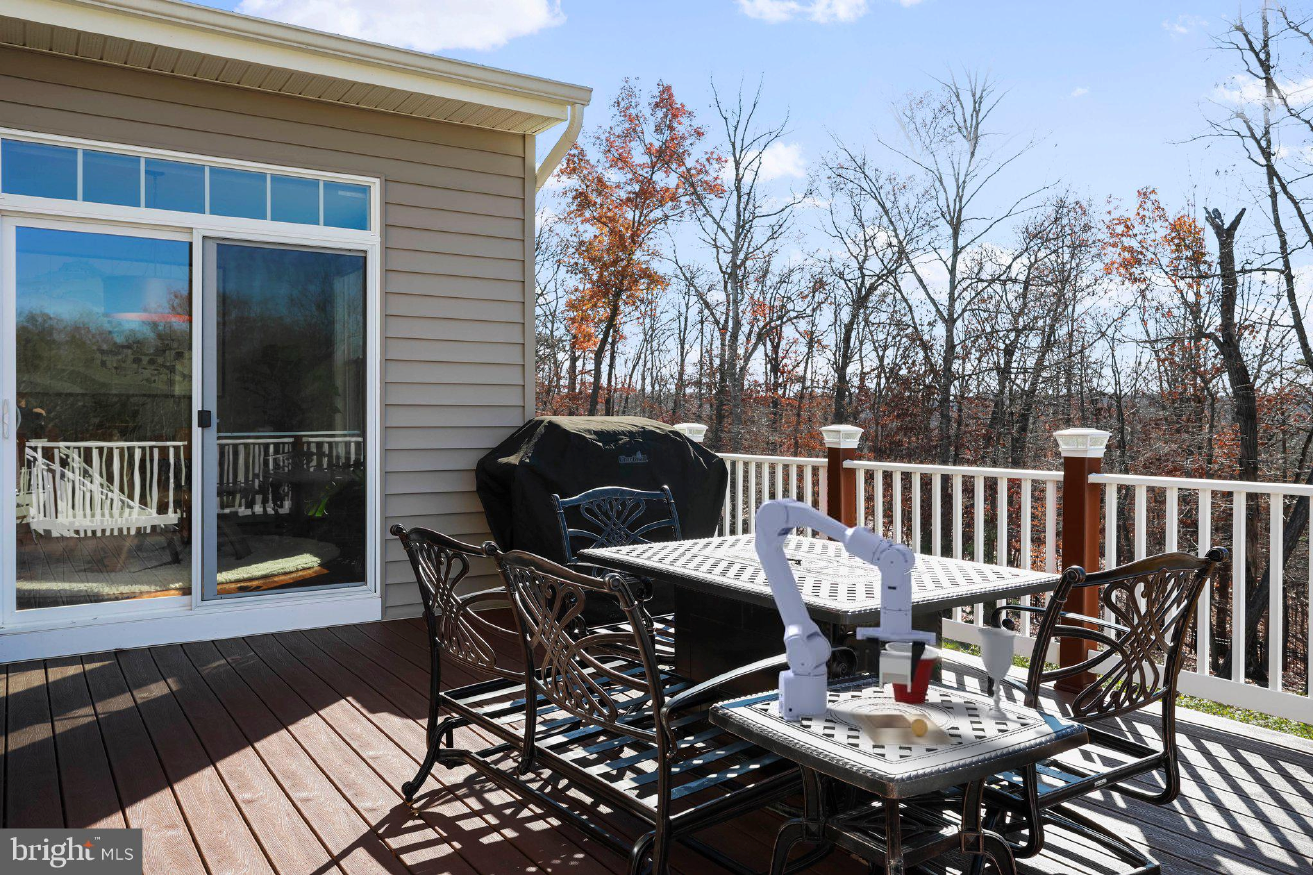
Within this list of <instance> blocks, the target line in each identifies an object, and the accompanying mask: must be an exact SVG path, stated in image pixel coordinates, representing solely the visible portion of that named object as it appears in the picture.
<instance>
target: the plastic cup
mask: <svg viewBox="0 0 1313 875" xmlns="http://www.w3.org/2000/svg"><path fill="white" fill-rule="evenodd" d="M885 649H886V651H893V652H905V653H911V665H912V643H910V642H890V643H886V644H885ZM938 657H939V652H938V651H936V650H934V649H932V648H931V647H926V646H925V651H924V653H923V655H922V657H921V659H920V661H919V664H918V666H917V669H916V673H915V678H914V682H911V690H910V692H908V684H897V683H891V685H892V686H891V687H892V689H893V695H894V701H895V703H904V704H908V705H919V704H921V705H922V704H924V703H925V702H926V697H927V692H928V690H929V685H930V680H931V675H932V670H933V668H934V664H935V661H936V660H937V659H938Z"/></svg>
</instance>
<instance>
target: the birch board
mask: <svg viewBox="0 0 1313 875" xmlns="http://www.w3.org/2000/svg"><path fill="white" fill-rule="evenodd" d="M849 715H850V717H851V718H852V719H853V720H854V721H855V722H856V724H857V725H858V726H859V727H860V728H861V730H862V731H863V732H864V733H865V735H866V736H867V737H868V738H869V739H870V740H871V741H872V742H873V744H874V745H875V746H894V745H895V746H898V745H901V746H904V745H908V746H909V745H910V746H911V745H913V746H915V745H916V746H917V745H919V746H920V745H959V743H958V742H957V741H956V740H955V739H954V738H952V736H950V735H949V734H948V733H947V732H945V730H943V729H942V728H941V727H940V726H939V725H938V724H937V723H935V721H934V720H932V719H931V718H930V717H929V716H928V715H926V713H872V714H871V713H865V714H864V713H863V714H862V713H859V714H858V713H856V714H854V713H853V714H851V713H850V714H849ZM915 719H922V720H924V721H925V722H926V723H927V726H928V731H927V733H926V734H925V735H923V736H917V735H915V734H914V733H913V732H912V730H911V723H912V722H913V721H914V720H915Z"/></svg>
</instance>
